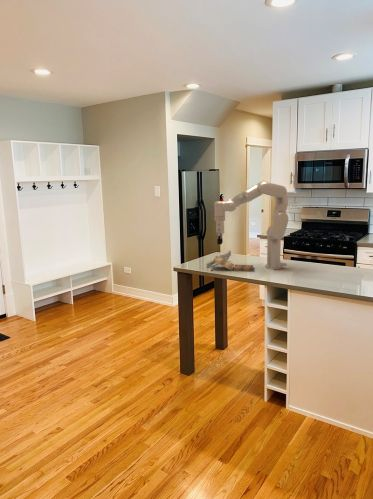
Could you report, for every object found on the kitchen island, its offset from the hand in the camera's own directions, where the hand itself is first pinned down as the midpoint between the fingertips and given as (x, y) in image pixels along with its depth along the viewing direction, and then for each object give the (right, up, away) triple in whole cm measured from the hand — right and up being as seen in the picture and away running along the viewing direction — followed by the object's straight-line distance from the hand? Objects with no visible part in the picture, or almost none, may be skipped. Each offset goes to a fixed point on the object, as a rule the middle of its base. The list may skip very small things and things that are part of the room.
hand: (219, 243), depth 275 cm
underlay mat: (+10, -19, +2) cm, 21 cm away
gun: (+1, -16, +20) cm, 26 cm away
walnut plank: (+17, -19, 0) cm, 26 cm away
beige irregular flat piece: (+3, -15, +2) cm, 15 cm away
